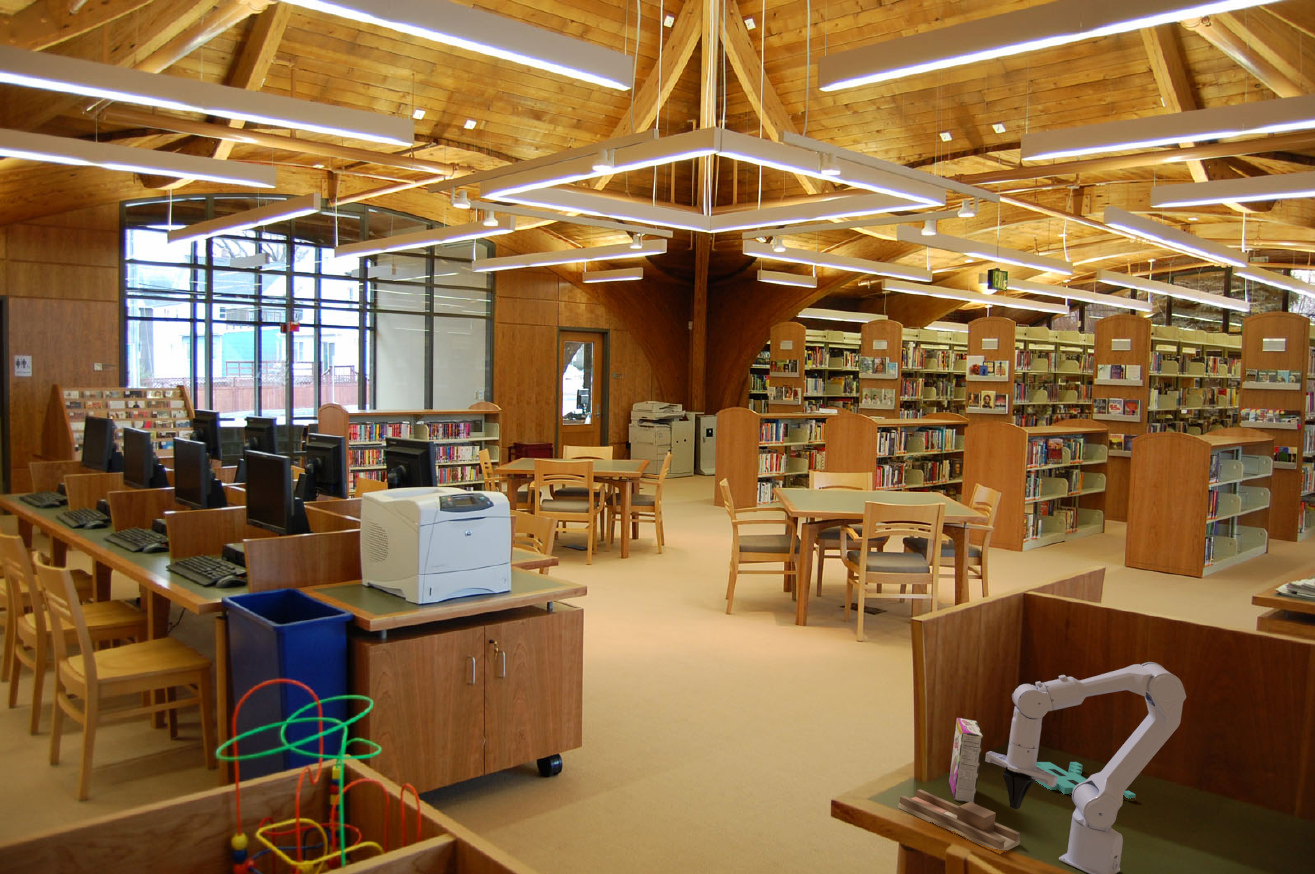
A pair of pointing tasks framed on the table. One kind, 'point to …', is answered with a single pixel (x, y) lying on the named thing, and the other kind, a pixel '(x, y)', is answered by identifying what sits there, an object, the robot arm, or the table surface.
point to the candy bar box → (965, 760)
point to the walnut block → (977, 816)
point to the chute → (957, 821)
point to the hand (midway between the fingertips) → (1014, 807)
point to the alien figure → (1068, 777)
